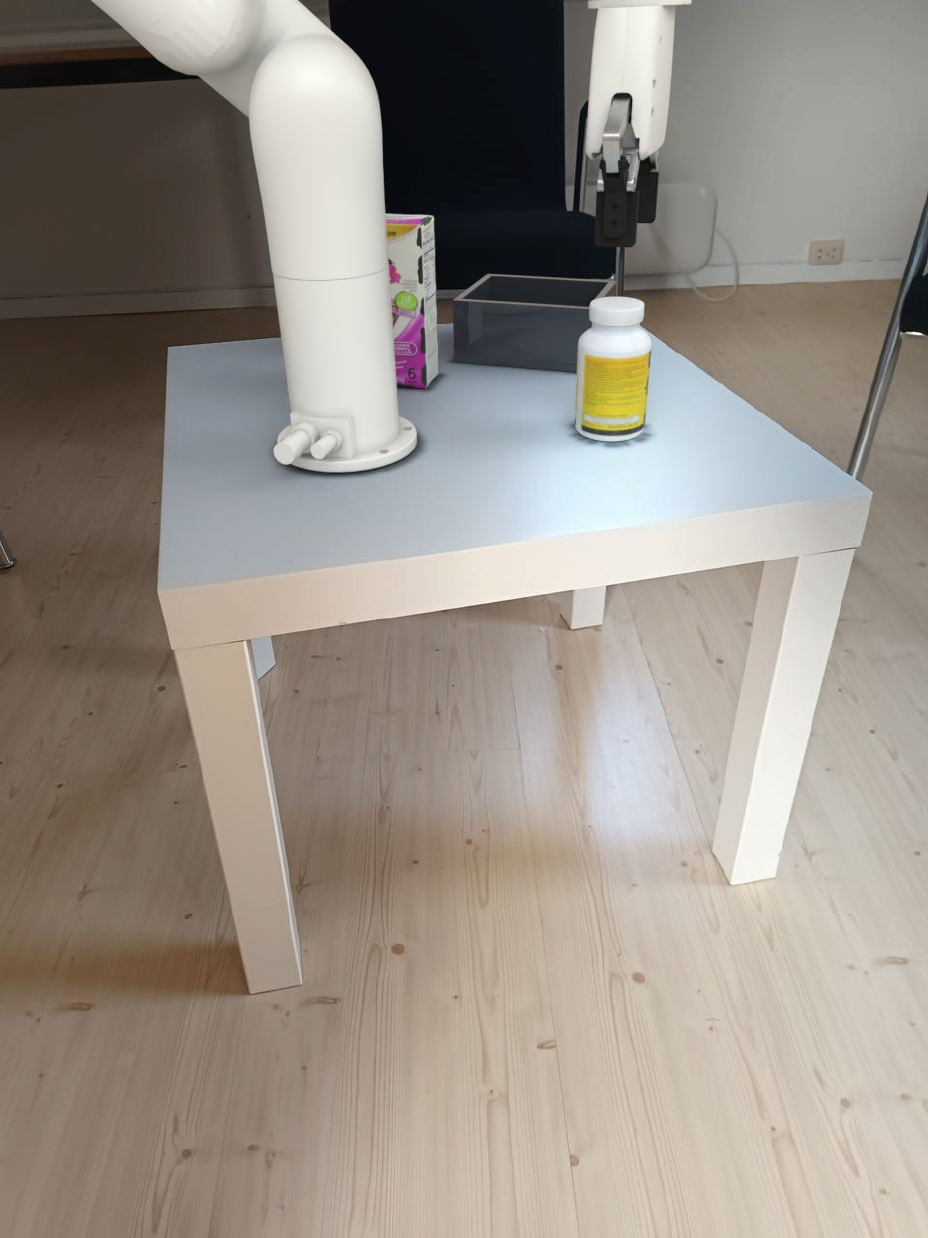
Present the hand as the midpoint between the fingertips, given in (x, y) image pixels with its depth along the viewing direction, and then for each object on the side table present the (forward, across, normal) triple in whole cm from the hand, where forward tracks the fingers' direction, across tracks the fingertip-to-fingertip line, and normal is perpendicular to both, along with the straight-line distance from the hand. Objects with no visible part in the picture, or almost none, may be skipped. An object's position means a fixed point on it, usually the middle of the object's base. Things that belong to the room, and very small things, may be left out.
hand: (626, 233), depth 76 cm
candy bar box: (+17, -8, -26) cm, 32 cm away
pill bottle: (+17, 0, 0) cm, 17 cm away
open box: (+17, -22, -14) cm, 31 cm away
